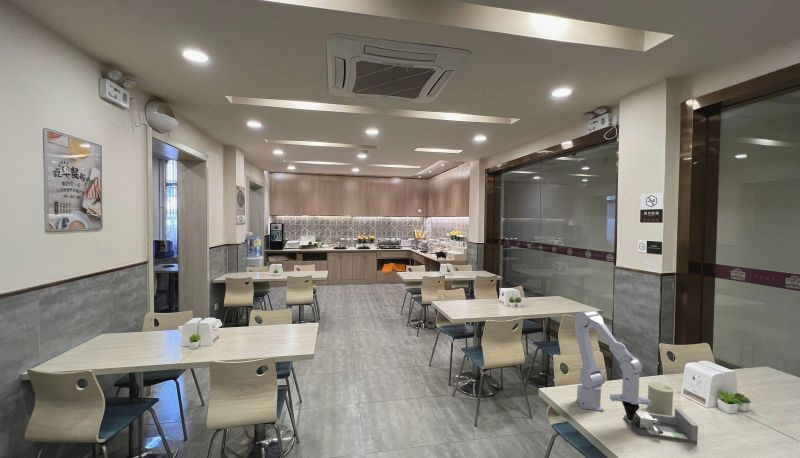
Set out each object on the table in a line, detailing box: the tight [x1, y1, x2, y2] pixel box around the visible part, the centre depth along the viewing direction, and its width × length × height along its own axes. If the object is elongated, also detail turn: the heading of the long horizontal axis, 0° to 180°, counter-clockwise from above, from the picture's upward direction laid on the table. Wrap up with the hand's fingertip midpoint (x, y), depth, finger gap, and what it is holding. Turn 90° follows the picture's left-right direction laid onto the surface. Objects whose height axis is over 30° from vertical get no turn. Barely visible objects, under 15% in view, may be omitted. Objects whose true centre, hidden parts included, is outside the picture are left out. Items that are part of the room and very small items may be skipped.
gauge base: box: [623, 408, 699, 445], centre depth 139 cm, size 21×12×7 cm, turn 76°
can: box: [646, 381, 674, 416], centre depth 153 cm, size 9×9×12 cm
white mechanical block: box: [632, 409, 660, 433], centre depth 138 cm, size 9×10×4 cm
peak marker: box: [656, 426, 663, 434], centre depth 135 cm, size 1×3×1 cm, turn 166°
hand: (629, 419), depth 142 cm, fingers closed
